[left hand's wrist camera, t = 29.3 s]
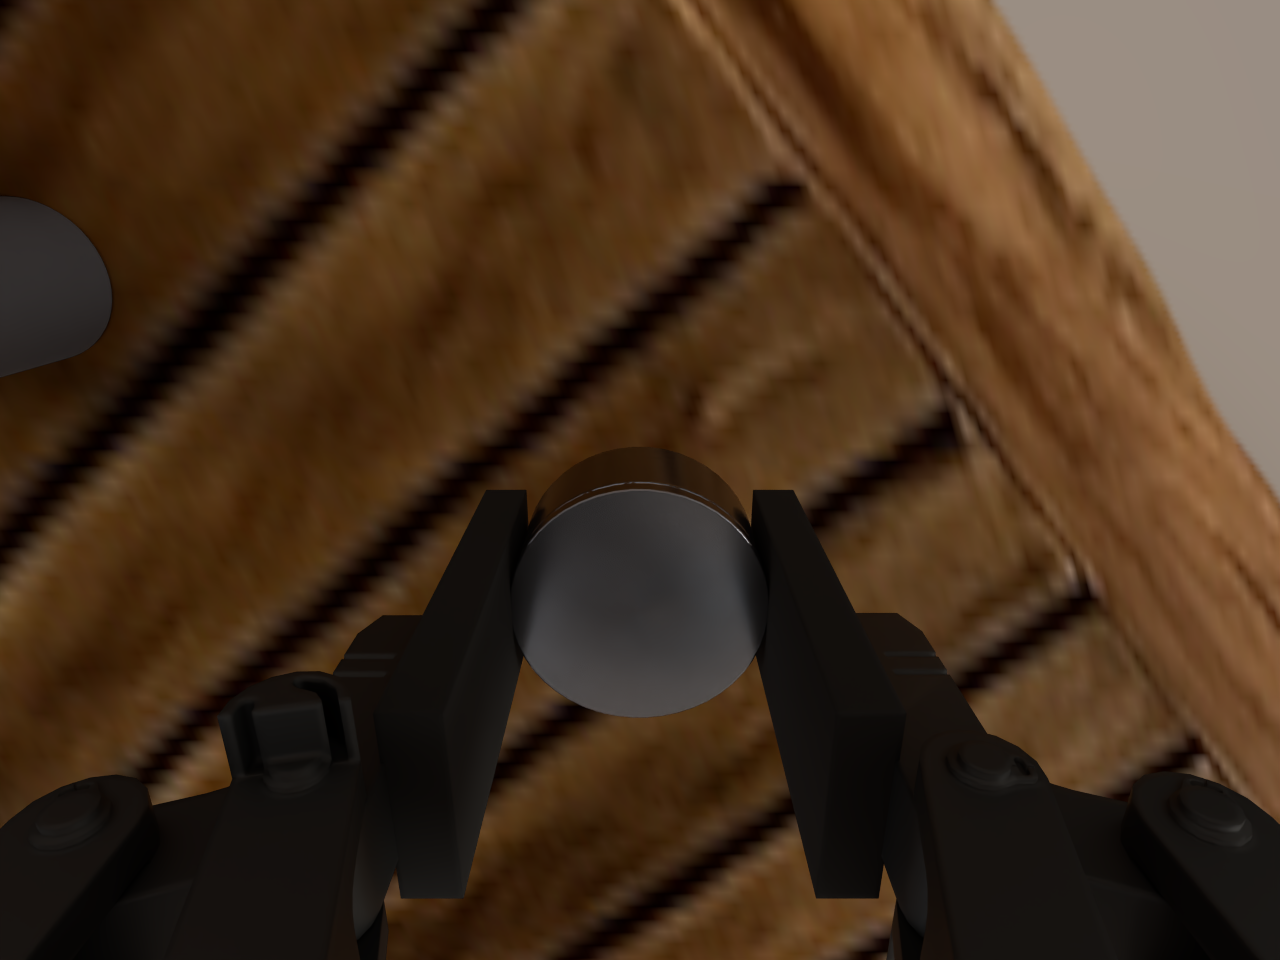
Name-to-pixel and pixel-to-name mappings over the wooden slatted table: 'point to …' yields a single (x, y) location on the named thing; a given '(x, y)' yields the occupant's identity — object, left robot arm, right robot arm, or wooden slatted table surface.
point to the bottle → (47, 287)
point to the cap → (639, 585)
